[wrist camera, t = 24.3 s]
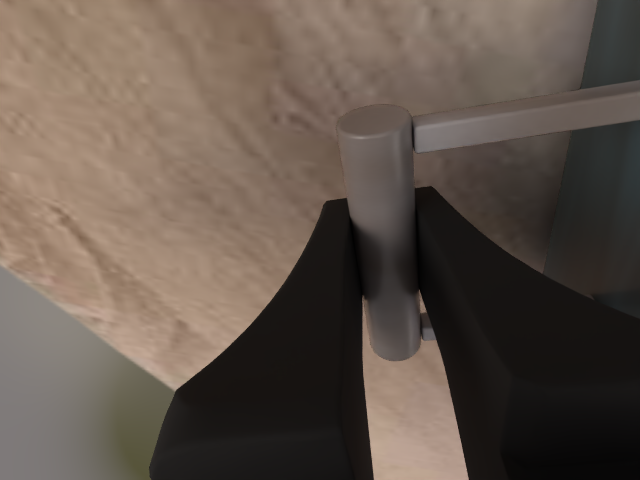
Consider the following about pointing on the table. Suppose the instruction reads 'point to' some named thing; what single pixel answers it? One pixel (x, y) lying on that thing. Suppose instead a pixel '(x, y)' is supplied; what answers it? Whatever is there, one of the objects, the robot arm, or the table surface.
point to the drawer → (493, 126)
